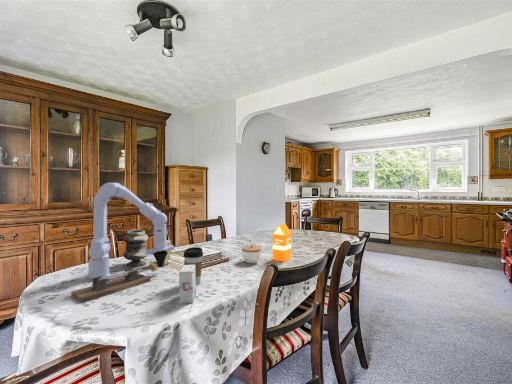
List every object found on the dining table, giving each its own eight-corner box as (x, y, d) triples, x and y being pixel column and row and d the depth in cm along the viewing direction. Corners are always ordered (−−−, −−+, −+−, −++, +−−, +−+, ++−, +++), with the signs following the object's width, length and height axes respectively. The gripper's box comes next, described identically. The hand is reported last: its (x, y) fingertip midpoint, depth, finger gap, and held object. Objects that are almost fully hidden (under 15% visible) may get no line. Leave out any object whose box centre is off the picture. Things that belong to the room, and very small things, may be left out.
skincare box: (165, 265, 141) (165, 242, 140) (157, 265, 141) (157, 242, 141) (171, 262, 147) (171, 240, 146) (164, 261, 148) (164, 239, 147)
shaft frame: (71, 295, 103) (71, 281, 103) (138, 276, 125) (138, 264, 125) (82, 302, 97) (81, 287, 97) (150, 281, 119) (150, 268, 119)
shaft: (96, 285, 108) (96, 274, 108) (152, 269, 127) (152, 260, 127) (101, 287, 105) (101, 276, 105) (157, 271, 125) (157, 262, 125)
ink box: (183, 293, 106) (183, 264, 105) (196, 293, 106) (196, 263, 106) (178, 303, 97) (178, 271, 97) (192, 303, 98) (192, 271, 97)
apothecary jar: (133, 269, 135) (133, 233, 134) (118, 265, 140) (118, 231, 140) (153, 263, 145) (153, 230, 144) (138, 259, 151) (138, 228, 150)
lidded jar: (264, 262, 148) (265, 245, 147) (248, 265, 142) (248, 248, 141) (254, 257, 157) (254, 242, 156) (238, 260, 151) (238, 244, 150)
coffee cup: (206, 281, 119) (206, 247, 119) (196, 288, 111) (196, 252, 111) (190, 279, 122) (190, 246, 121) (179, 285, 114) (179, 250, 113)
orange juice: (291, 257, 158) (291, 223, 157) (284, 261, 150) (284, 225, 149) (279, 255, 162) (279, 222, 161) (272, 259, 154) (272, 224, 154)
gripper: (150, 242, 120) (151, 272, 120) (178, 237, 131) (178, 264, 132) (142, 240, 124) (142, 269, 124) (169, 235, 135) (169, 262, 136)
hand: (160, 266), depth 128 cm, fingers closed
